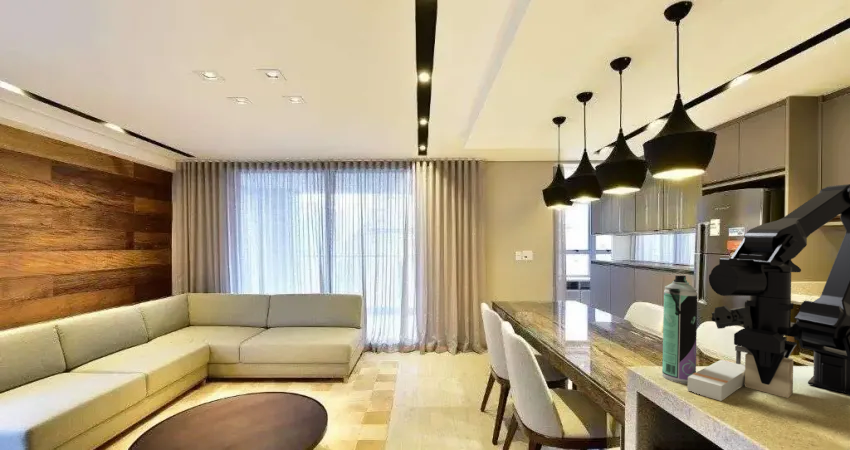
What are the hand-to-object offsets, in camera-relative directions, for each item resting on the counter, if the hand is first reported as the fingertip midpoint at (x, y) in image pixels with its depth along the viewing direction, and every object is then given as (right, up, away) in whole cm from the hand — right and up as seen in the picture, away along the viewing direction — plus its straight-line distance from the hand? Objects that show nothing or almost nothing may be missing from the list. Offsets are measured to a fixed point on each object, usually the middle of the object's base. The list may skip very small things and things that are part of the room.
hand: (768, 381), depth 73 cm
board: (-8, -1, +2) cm, 8 cm away
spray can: (-14, -1, +4) cm, 14 cm away
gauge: (0, -2, 0) cm, 2 cm away
